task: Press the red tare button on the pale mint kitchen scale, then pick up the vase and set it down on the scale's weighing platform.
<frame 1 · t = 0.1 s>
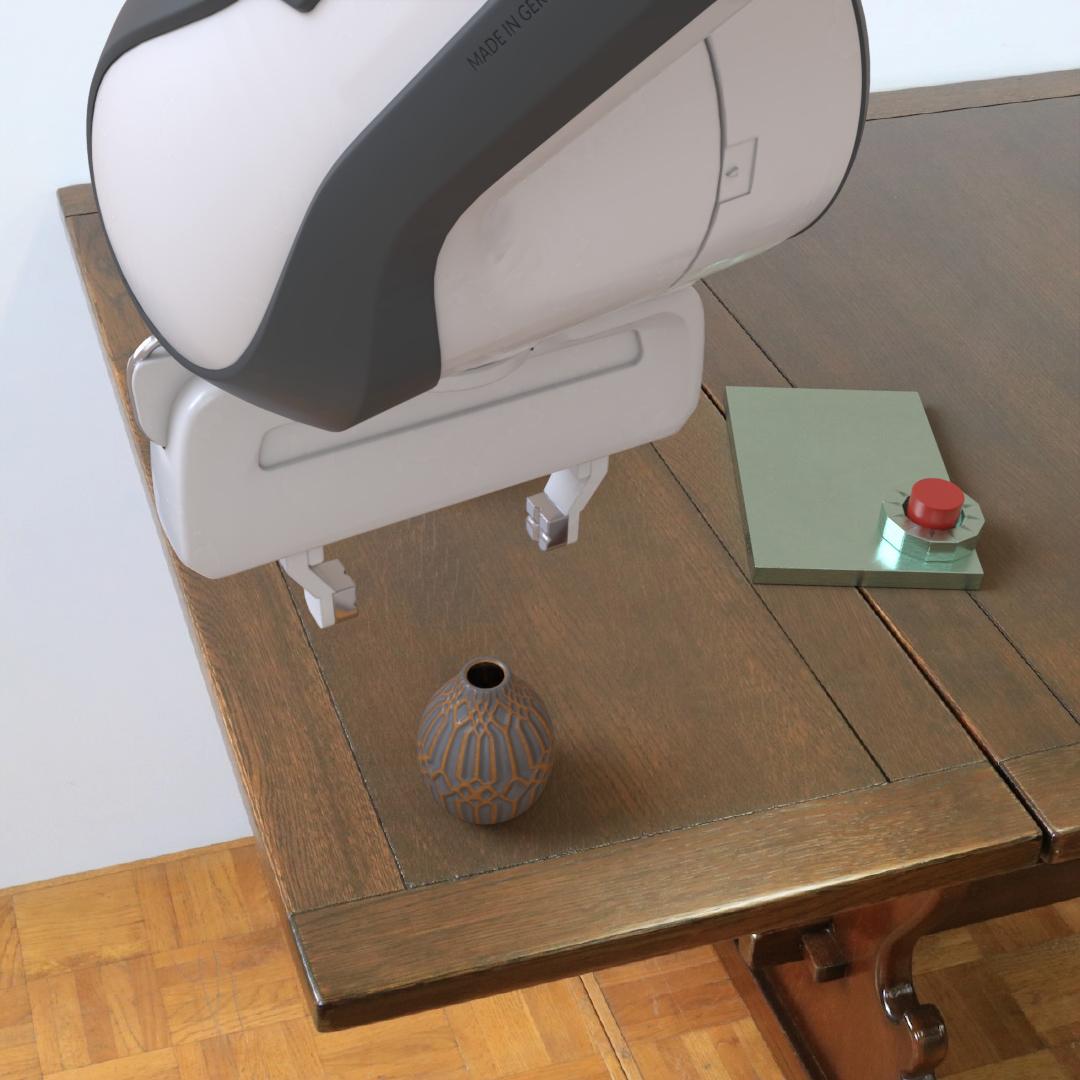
hand: (445, 575, 52), 20 cm above the table, tool pointing down, fingers open, 8 cm apart
fruit: (322, 344, 102), on the table
vase: (486, 794, 69), on the table
cup: (369, 465, 90), on the table
tare button: (935, 504, 82), point 4 cm above the table, slide at 0.1 cm
scale: (840, 487, 89), on the table
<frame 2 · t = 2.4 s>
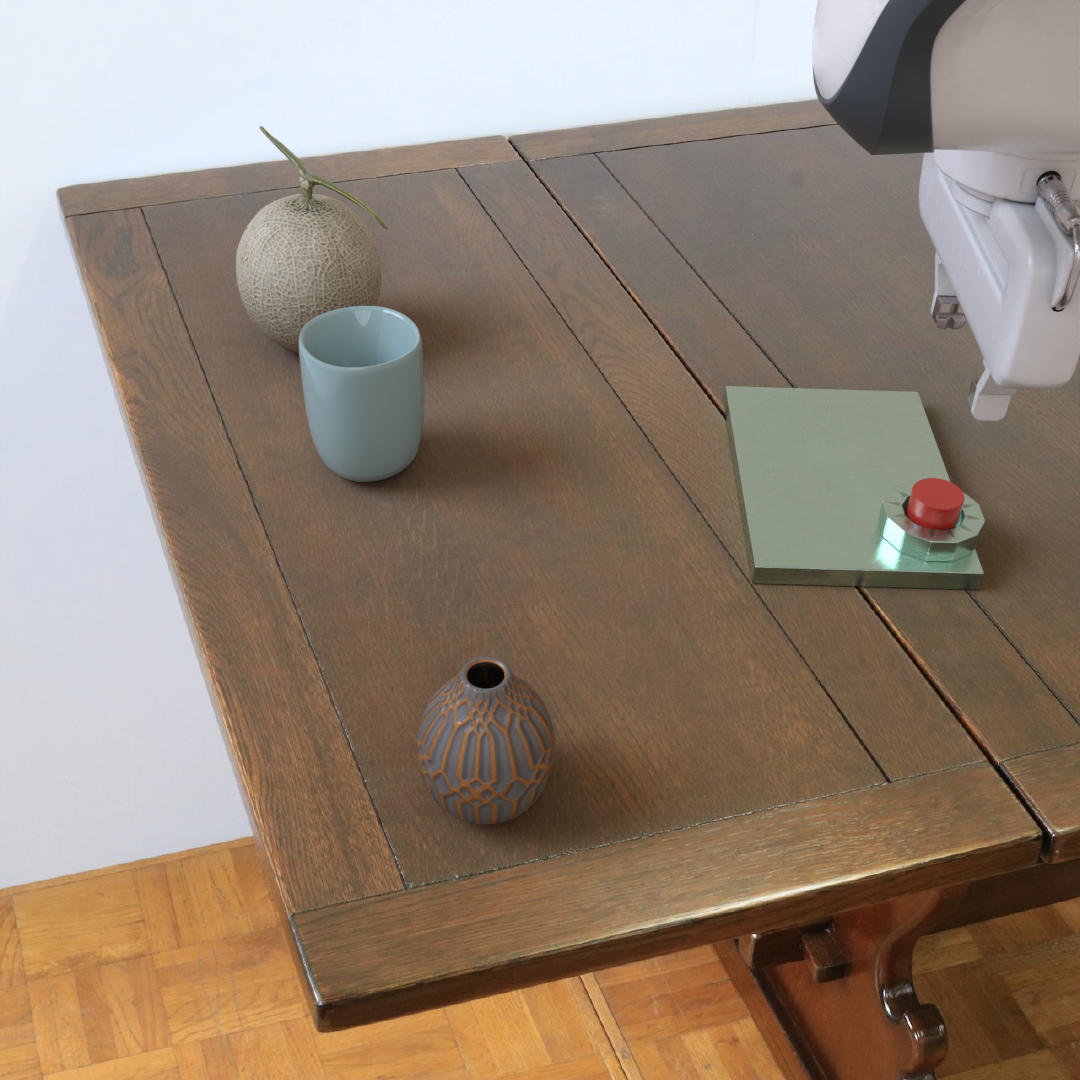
hand: (964, 366, 76), 14 cm above the table, tool pointing down, fingers open, 8 cm apart
nothing on the table moved.
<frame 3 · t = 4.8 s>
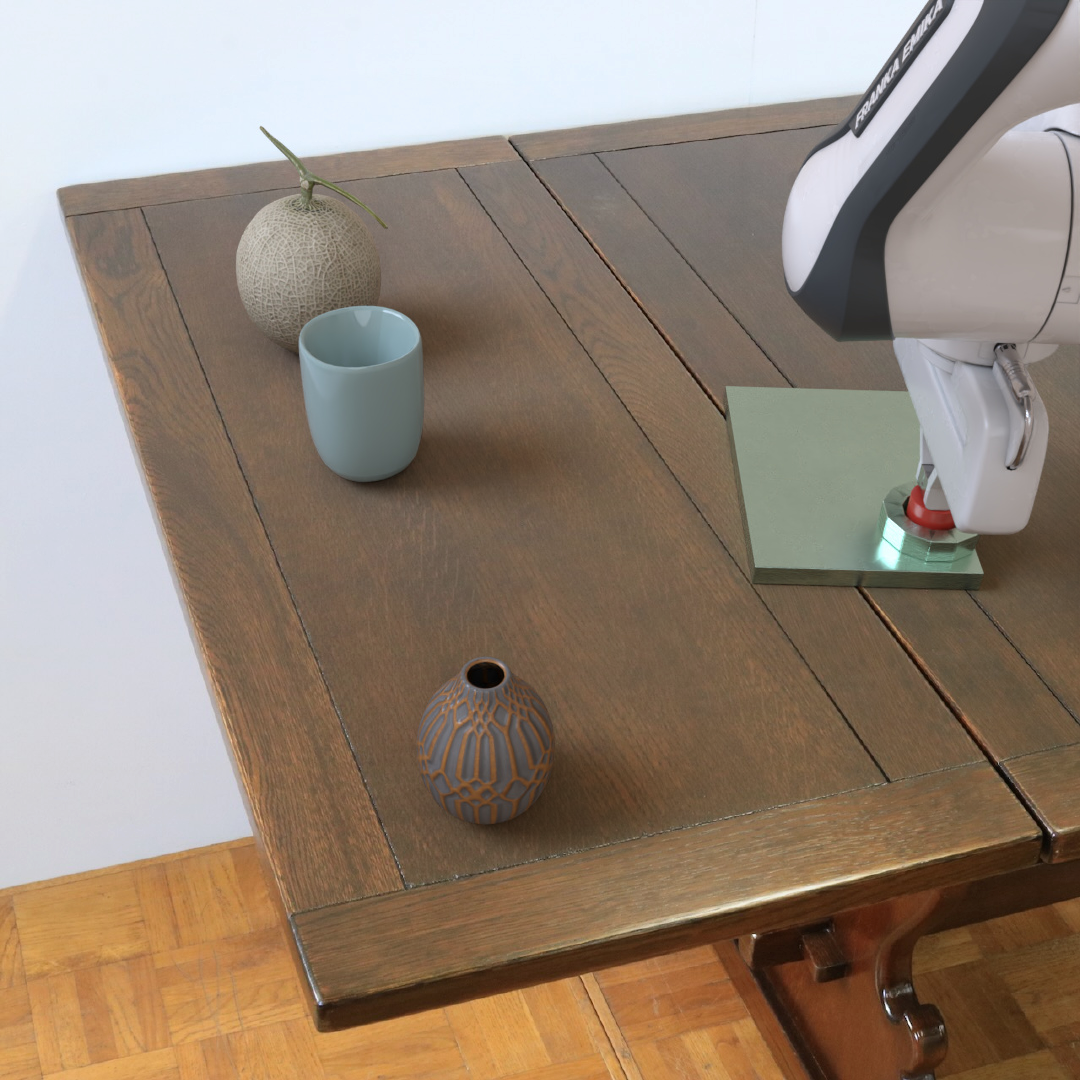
hand: (933, 495, 82), 4 cm above the table, tool pointing down, fingers closed, pressing on tare button
tare button: (934, 508, 83), point 3 cm above the table, slide at -0.2 cm, touching gripper
everything else where it was.
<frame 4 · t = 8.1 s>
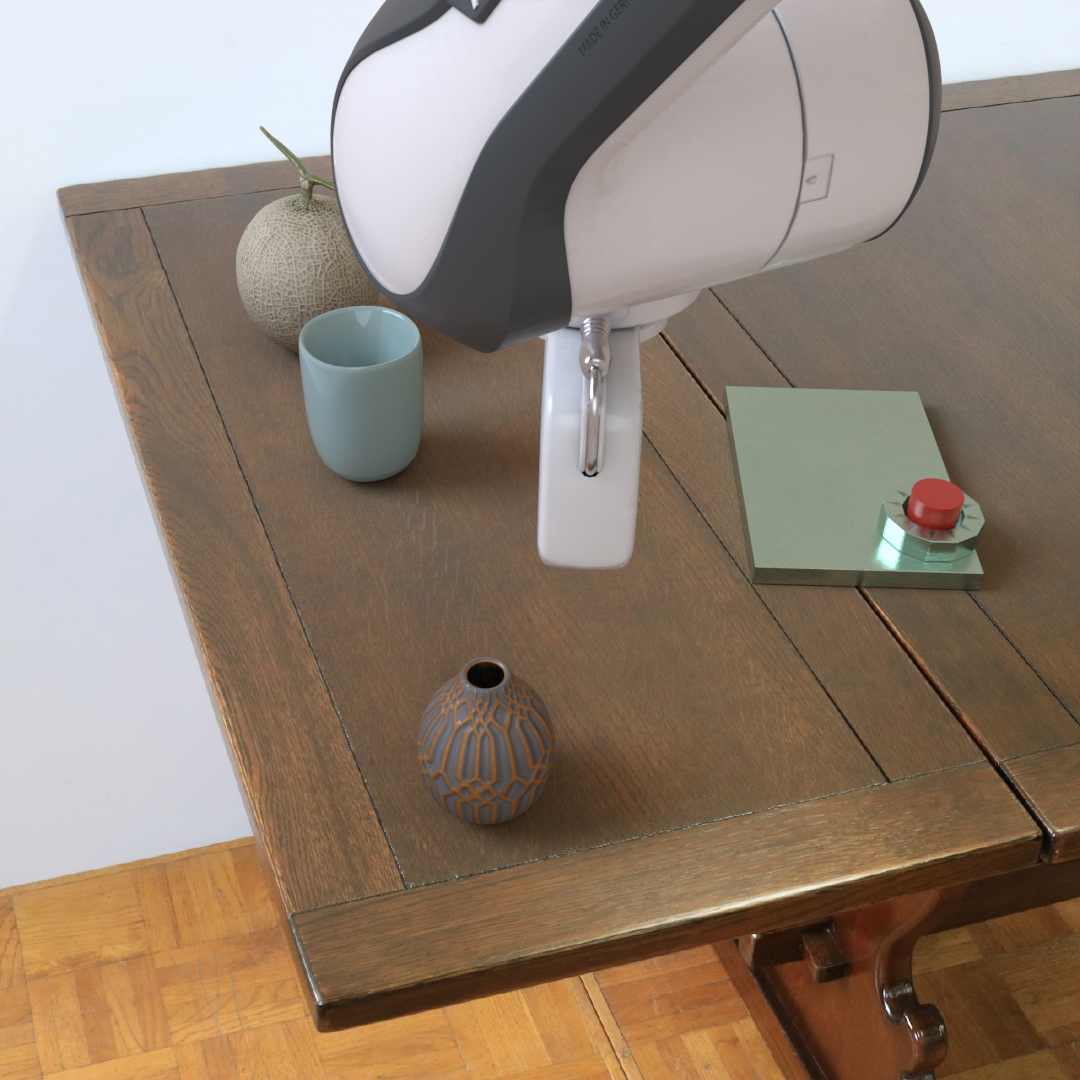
hand: (581, 513, 61), 16 cm above the table, tool pointing down, fingers closed
tare button: (935, 504, 82), point 3 cm above the table, slide at 0.1 cm
everything else where it was.
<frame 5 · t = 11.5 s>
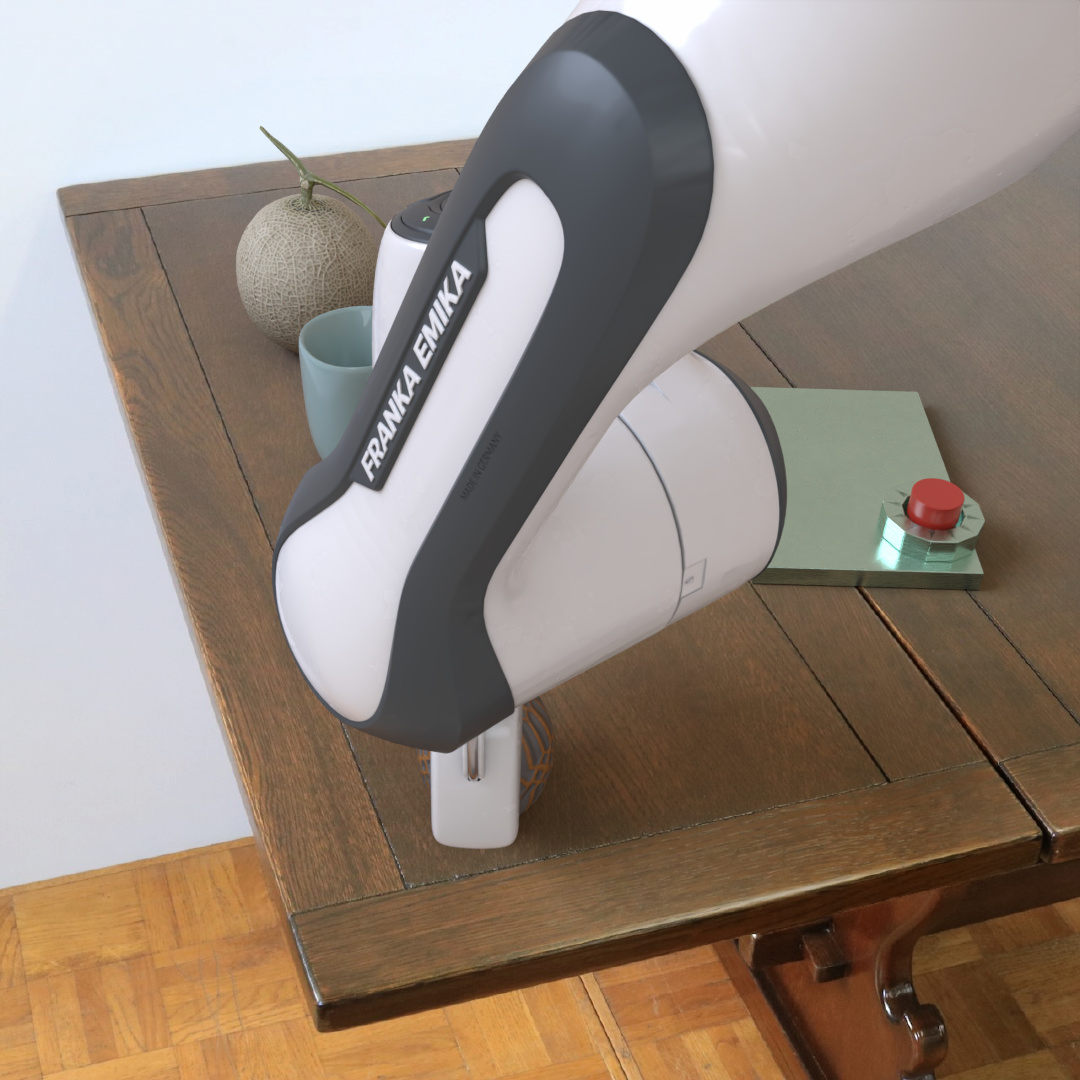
hand: (485, 751, 67), 3 cm above the table, tool pointing down, fingers closed on vase, 7 cm apart
vase: (485, 795, 69), on the table, touching gripper
everything else where it was.
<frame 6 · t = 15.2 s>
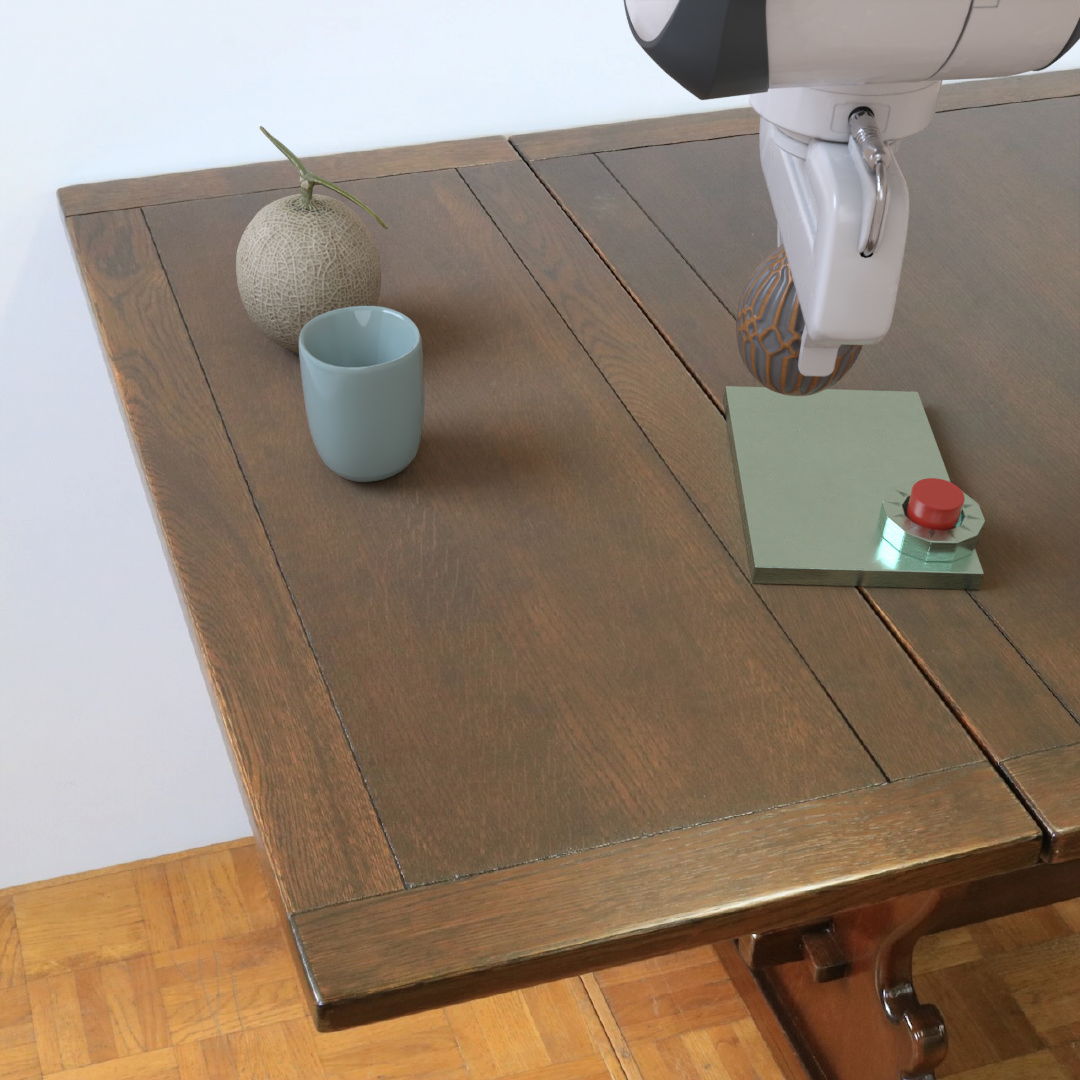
hand: (801, 326, 71), 18 cm above the table, tool pointing down, fingers closed on vase, 7 cm apart
vase: (791, 379, 73), point 14 cm above the table, touching gripper
everything else where it was.
when the fingers open (4 cm above the table, at t = 19.4 s): vase stays where it is, resting on scale.
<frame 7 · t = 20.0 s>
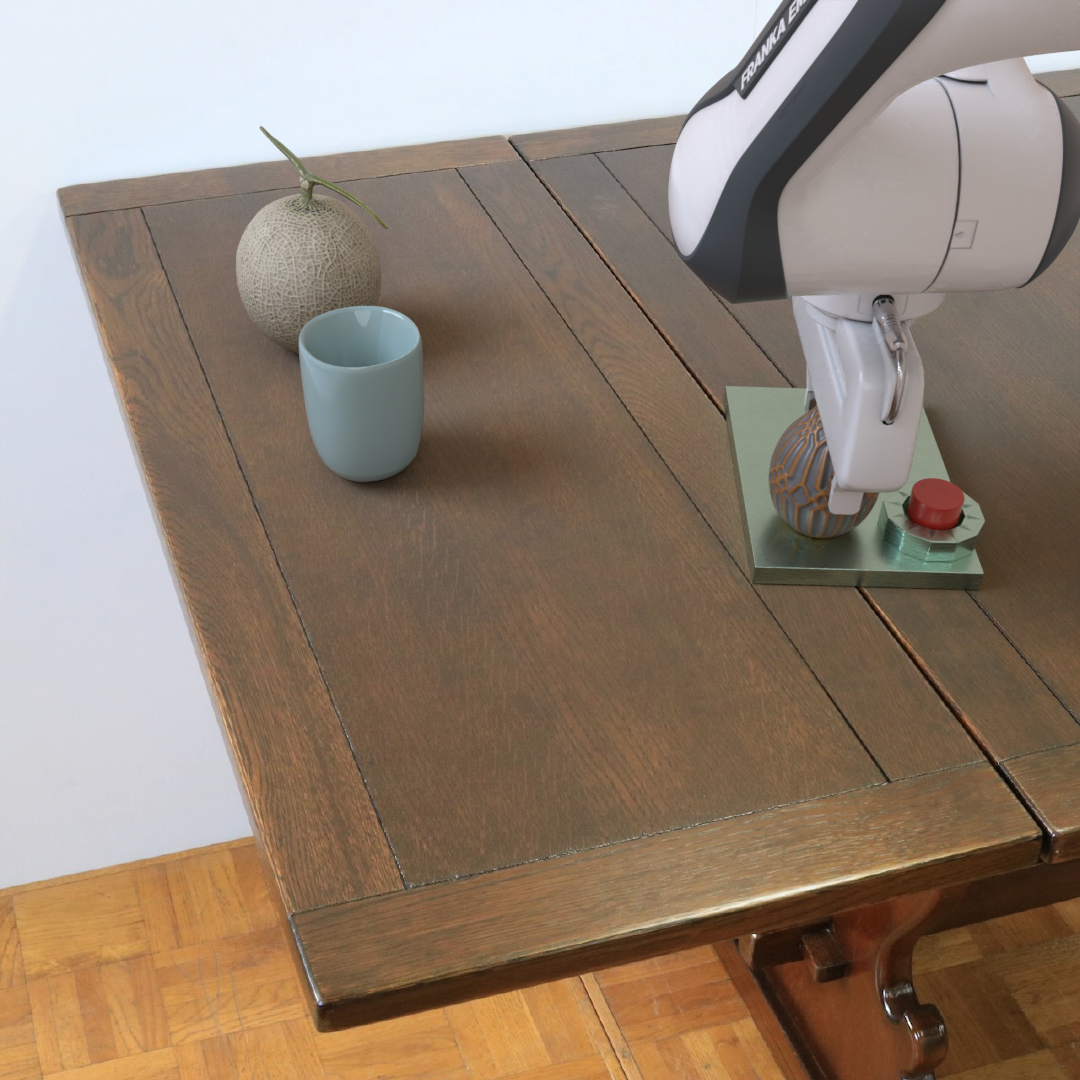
hand: (829, 459, 82), 6 cm above the table, tool pointing down, fingers open, 8 cm apart
vase: (815, 521, 85), point 1 cm above the table, touching scale
everything else where it was.
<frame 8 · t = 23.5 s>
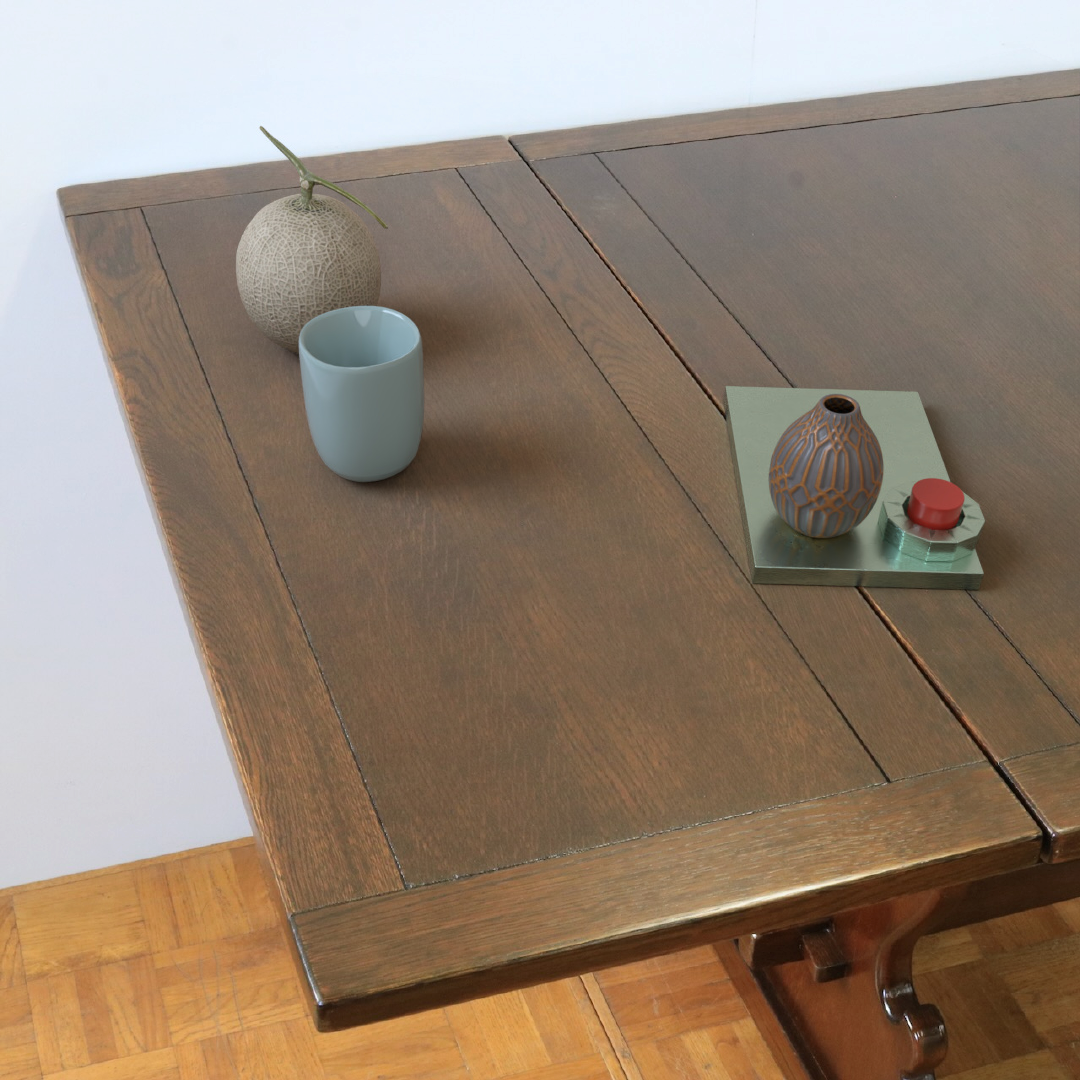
nothing on the table moved.
at the end: tare button pushed in 0.8 cm at the most during the clip, back to where it started at the end; vase 0.2 cm from the target spot on the scale, point 1.2 cm above the scale's base; vase touching scale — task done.
